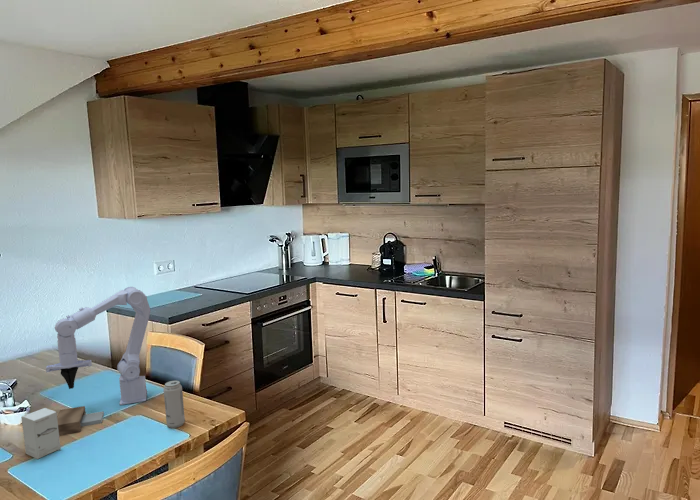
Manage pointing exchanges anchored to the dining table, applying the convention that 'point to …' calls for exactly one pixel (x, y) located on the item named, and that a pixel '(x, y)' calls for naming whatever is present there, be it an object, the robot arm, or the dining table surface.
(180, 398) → the energy drink can
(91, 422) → the slate tile
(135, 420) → the dining table surface
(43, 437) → the supplement box
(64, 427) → the walnut shelf
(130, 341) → the robot arm
